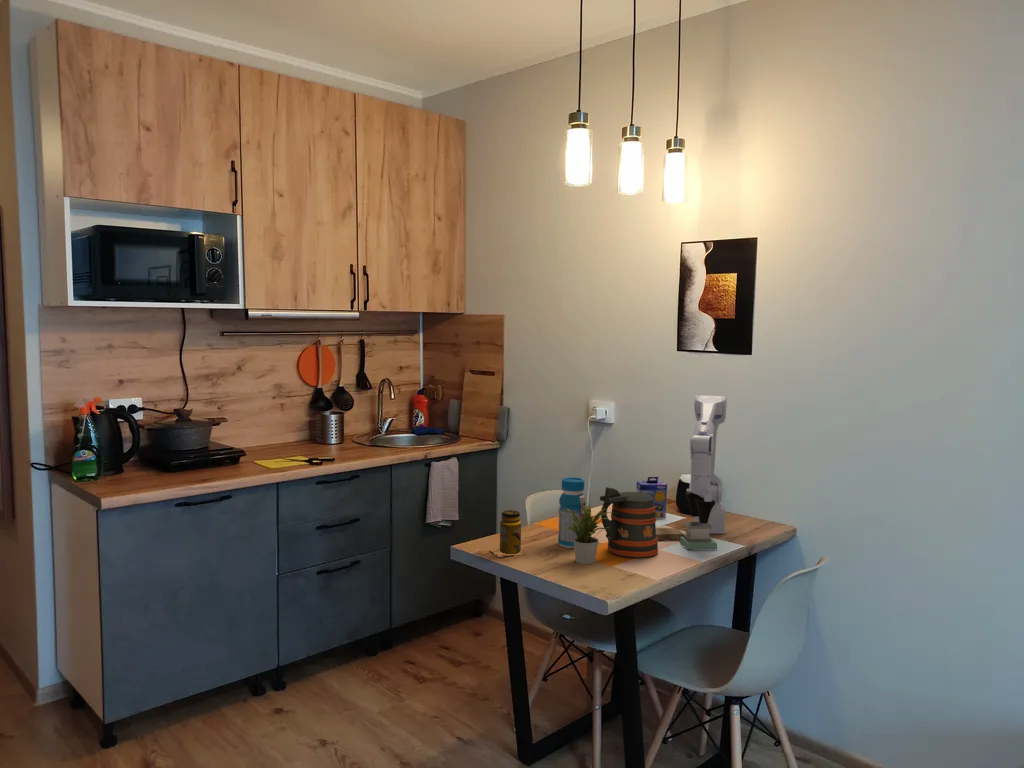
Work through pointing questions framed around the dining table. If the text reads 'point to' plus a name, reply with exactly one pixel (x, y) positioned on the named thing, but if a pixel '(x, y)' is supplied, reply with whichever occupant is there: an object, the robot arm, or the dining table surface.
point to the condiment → (510, 532)
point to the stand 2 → (698, 544)
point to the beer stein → (630, 523)
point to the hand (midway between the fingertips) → (699, 519)
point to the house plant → (586, 535)
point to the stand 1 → (668, 534)
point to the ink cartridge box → (655, 494)
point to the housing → (697, 532)
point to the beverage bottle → (574, 502)
